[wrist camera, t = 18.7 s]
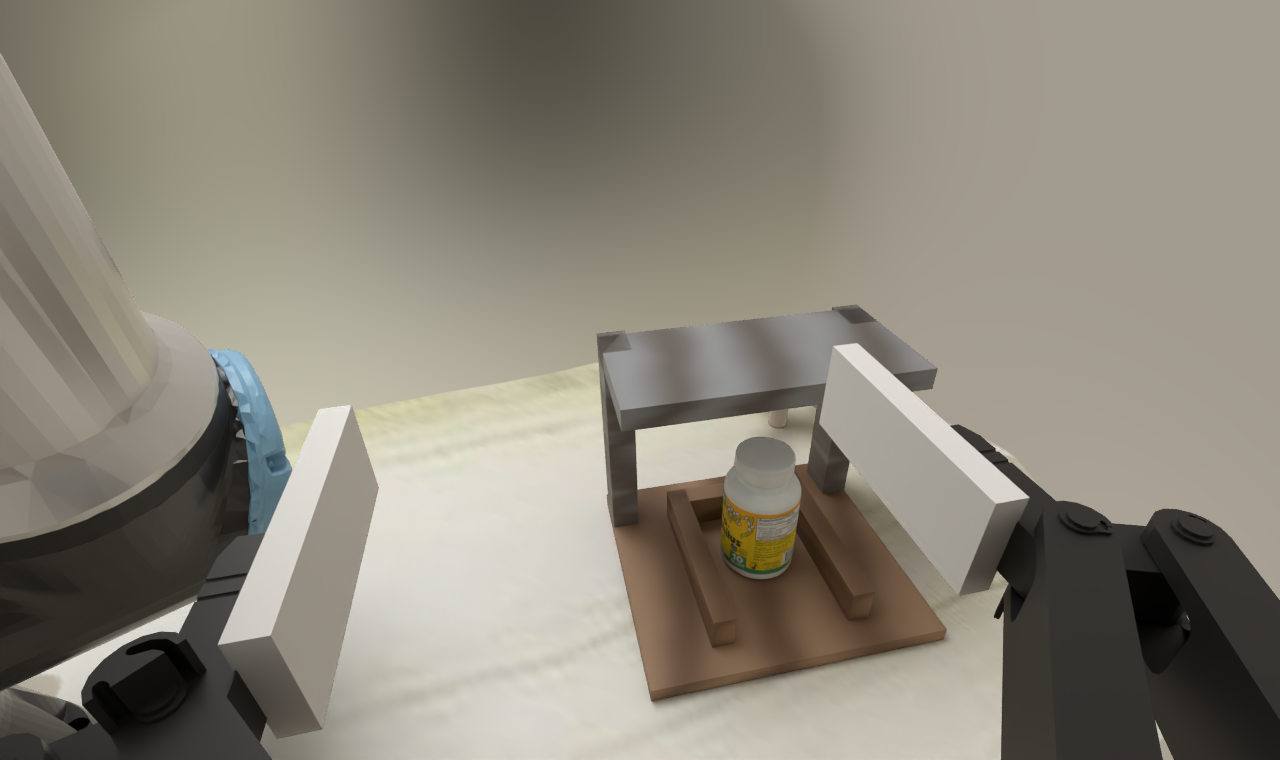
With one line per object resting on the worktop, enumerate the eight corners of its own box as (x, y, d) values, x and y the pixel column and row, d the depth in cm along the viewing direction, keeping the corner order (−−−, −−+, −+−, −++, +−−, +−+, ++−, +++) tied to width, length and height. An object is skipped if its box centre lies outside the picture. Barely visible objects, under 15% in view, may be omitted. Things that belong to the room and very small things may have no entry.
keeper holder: (651, 700, 37) (645, 491, 28) (607, 503, 52) (594, 327, 43) (943, 638, 40) (1020, 433, 31) (821, 469, 55) (850, 299, 46)
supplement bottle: (802, 576, 43) (820, 474, 38) (731, 587, 43) (740, 485, 38) (776, 523, 48) (788, 426, 43) (711, 533, 47) (716, 435, 42)
